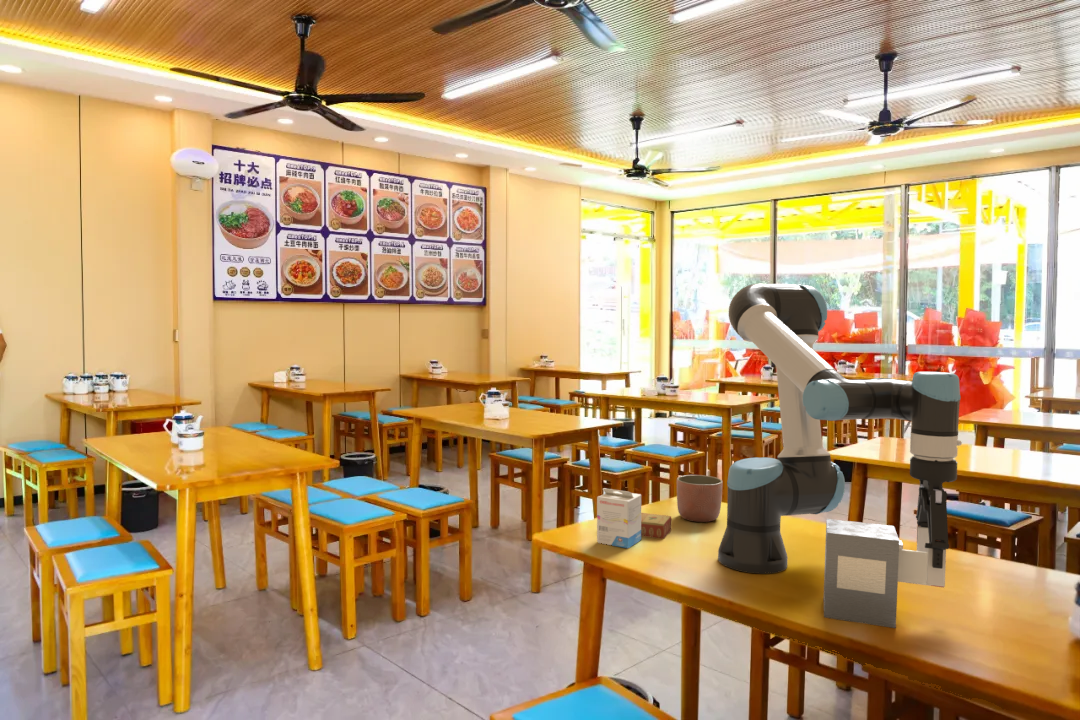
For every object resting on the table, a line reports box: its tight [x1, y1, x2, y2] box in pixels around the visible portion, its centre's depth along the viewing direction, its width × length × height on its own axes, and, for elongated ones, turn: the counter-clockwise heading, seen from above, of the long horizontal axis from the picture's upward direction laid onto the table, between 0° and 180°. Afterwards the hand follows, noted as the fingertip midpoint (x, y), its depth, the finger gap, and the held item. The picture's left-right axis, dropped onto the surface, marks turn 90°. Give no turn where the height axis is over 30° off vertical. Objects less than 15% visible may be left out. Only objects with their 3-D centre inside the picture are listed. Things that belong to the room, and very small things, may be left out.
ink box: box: [596, 487, 642, 549], centre depth 176 cm, size 9×8×13 cm
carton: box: [641, 512, 672, 540], centre depth 186 cm, size 8×16×4 cm, turn 67°
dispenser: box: [823, 518, 904, 629], centre depth 134 cm, size 13×10×16 cm
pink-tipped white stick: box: [898, 548, 945, 589], centre depth 132 cm, size 18×1×6 cm, turn 69°
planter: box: [676, 474, 724, 523], centre depth 198 cm, size 12×12×11 cm
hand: (929, 572), depth 130 cm, fingers open, 13 cm apart
